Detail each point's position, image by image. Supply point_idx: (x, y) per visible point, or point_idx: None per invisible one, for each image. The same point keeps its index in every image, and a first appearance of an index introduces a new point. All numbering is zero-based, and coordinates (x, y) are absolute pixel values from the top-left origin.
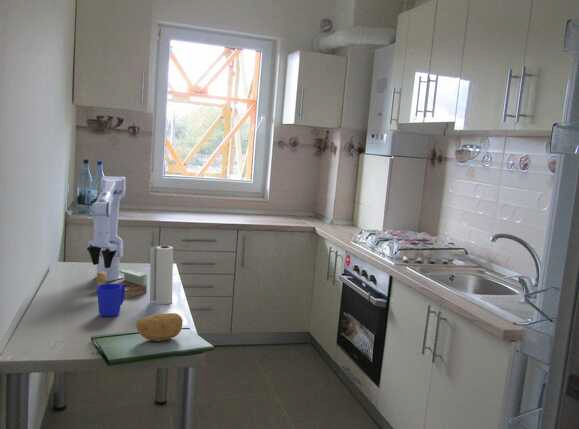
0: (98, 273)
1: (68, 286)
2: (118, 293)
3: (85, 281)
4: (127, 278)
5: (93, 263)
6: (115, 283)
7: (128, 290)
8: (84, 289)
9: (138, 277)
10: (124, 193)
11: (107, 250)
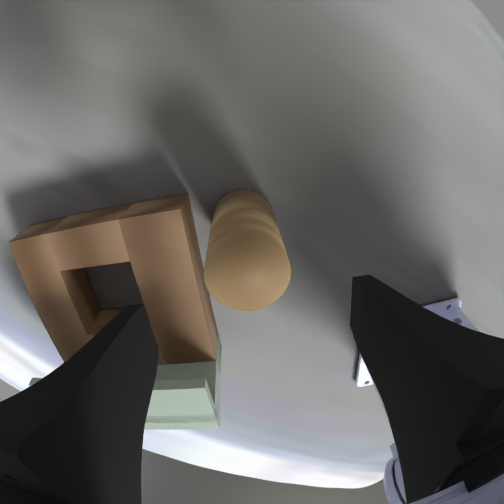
0: (247, 245)
1: (436, 111)
2: None
3: (450, 233)
4: (183, 374)
5: (362, 281)
6: (170, 296)
7: (27, 283)
8: (326, 142)
9: (33, 378)
10: None
11: (34, 495)
